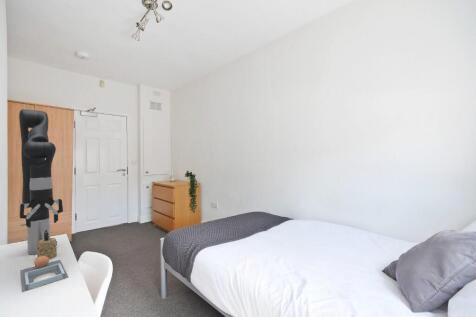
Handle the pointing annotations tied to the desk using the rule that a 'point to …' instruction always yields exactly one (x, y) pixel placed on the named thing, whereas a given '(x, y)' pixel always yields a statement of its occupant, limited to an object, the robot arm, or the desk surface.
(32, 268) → the mat
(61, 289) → the desk surface
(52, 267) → the square tray
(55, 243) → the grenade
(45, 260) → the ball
